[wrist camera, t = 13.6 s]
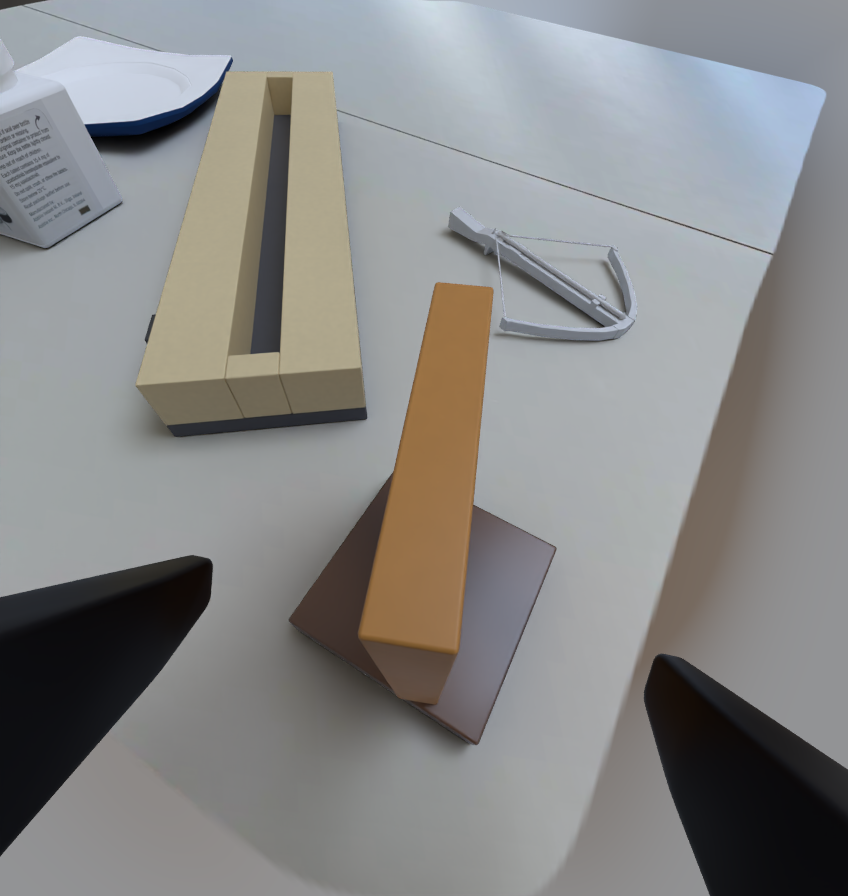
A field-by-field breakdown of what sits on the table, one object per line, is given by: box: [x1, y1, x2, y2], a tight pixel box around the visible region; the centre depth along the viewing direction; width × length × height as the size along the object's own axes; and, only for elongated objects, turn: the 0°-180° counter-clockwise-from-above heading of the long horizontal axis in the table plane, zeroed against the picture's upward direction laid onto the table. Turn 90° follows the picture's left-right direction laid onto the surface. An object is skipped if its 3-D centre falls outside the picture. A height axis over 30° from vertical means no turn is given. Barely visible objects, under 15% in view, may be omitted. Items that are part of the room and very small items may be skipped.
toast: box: [358, 282, 493, 705], centre depth 12 cm, size 8×1×11 cm, turn 171°
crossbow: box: [448, 207, 637, 341], centre depth 31 cm, size 16×13×2 cm
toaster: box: [136, 72, 367, 437], centre depth 32 cm, size 40×11×4 cm, turn 9°
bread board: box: [289, 471, 556, 745], centre depth 18 cm, size 8×8×2 cm
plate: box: [15, 36, 233, 137], centre depth 44 cm, size 20×20×3 cm
